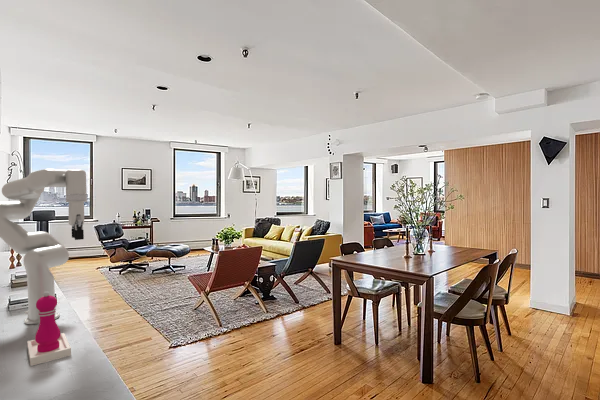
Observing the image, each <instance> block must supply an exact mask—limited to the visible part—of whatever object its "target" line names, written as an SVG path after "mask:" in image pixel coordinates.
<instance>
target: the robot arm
mask: <svg viewBox="0 0 600 400" xmlns="http://www.w3.org/2000/svg"><path fill="white" fill-rule="evenodd" d="M45 188H65V202H66V203H68V225H69V226H71V238H73V239H74V240H75V241H79V240H84V239H85V238H84V237H85V236H84V234H85V233H84V224H85V203H87V202H88V198H87V196H88V195H87V192H88V191H87V173H86V171H85V170H84V169H55V168H44V169H39V170H35V171H33V172H30V173H29V174H28V175H27V176H26V177H22V178H19V179H16V180H12V181H11V180H10V181H9V182H6V183H5V184H4V185H3V186H2V188H1V194H2V195H3V196H4V197H5V198H6V199H9V200H11V201H0V239H1V240H3V242H4V243H6V244H7V245H8V246H9V247H10V248H11V249H12V250H13V251H14V252H15V253H17V254H18V255H24V256H23V265H24V269H25V272H26V282H27V284H26V285H27V305H28V307H27V308H28V309H27V310H25V311H24V314H25V315H27V317H26V318H25V319H24V324H26V325H40V316H38V314H39V313H38V312H39V310H38V309H37V308H36V303H37V301H38V299H40V298H41V297H44V296H43V294H44V292H49V296H54V297H55V296H56V293H55V289H56V288H55V278H54V275H53V273H52V271H50V268H51V269H52V268H55V267H59V266H63V265H65V264H66V263H67V262H68V261H69V257H70V254H69V252H68V249H67V248H66V247H65V246H64V245H63V244H62V243H61V242H60V241H59V240H58V239H57V238H56V237H55V236H53V235H52V234H50V233H49V232H47V231H33V232H31V231H27V230H25V228H23V227H22V226H21V225H20V224H18V223H16V222H15V221H14V220H24V219H27V218H28V217H29V216H30V215H31V214H32V212H33V210H34V208H35V206H36V205H37V204H38V201H39V199H40V197H41V194H42V193H43V192H44V190H45ZM12 200H13V201H12ZM84 202H85V203H84ZM55 298H56V297H55ZM60 316H61V315H60V313H59V312H57V311H56V313H55V315H54V317H55V320H57V319H58V318H59V317H60Z"/></svg>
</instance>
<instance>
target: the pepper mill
mask: <svg viewBox="0 0 600 400" xmlns="http://www.w3.org/2000/svg"><path fill="white" fill-rule="evenodd" d="M43 296H44V297H41V298H40V299H38V301H37V303H36V308H37V309H38V310H39V312H38V313H39V314H38V316H40V323H39V324H38V327H37V328H38V329H37V331H36V333H35V337H34V338H35V339H34V340H35V341H36V342H37V343H38V344H39V345H38V346H37V351H38V352H49V351H52V350H55V349H57V348H58V347H59V341H58V339H59V337H60V335H61V333H62V332H61V330H60V327H59V326H58V324H57V322H56V319H55V317H54V315H55V313H56V312H57V311H56V307H57V305H58V299H57V298H56V297H54V296H49V292H44V294H43Z"/></svg>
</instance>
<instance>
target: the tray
mask: <svg viewBox="0 0 600 400" xmlns="http://www.w3.org/2000/svg"><path fill="white" fill-rule="evenodd" d="M60 333H61V335H60V337H59V339H58V341H59V347H58V348H57V349H55V350H52V351H49V352H38V351H37V346H38V345H39V344H38V343H37V342H36V341H35V339H31V340H27V343H26V344H27V352H28V353H27V354H28V359H29V366H30V367H32V366H36V365H40V364H44V363H48V362H51V361H54V360H55V361H56V360H59V359H63V358H68V357H70V356H72V347H71V344H70V343H69V340H68V339H67V337H66V334H65V332H63V333H62V332H60Z"/></svg>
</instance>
